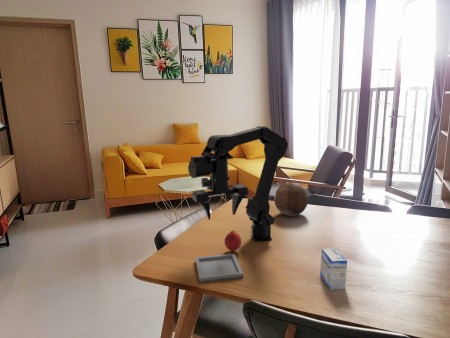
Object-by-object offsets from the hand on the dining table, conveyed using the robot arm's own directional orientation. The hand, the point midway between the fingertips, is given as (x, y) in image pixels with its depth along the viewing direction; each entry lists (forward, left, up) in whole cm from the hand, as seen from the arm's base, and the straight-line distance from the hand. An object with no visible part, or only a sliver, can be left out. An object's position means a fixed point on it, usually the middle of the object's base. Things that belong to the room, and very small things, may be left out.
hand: (221, 216), depth 112 cm
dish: (+4, +13, -12) cm, 18 cm away
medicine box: (-27, +27, -12) cm, 41 cm away
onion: (-3, +2, -12) cm, 13 cm away
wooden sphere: (-36, -28, -12) cm, 47 cm away
